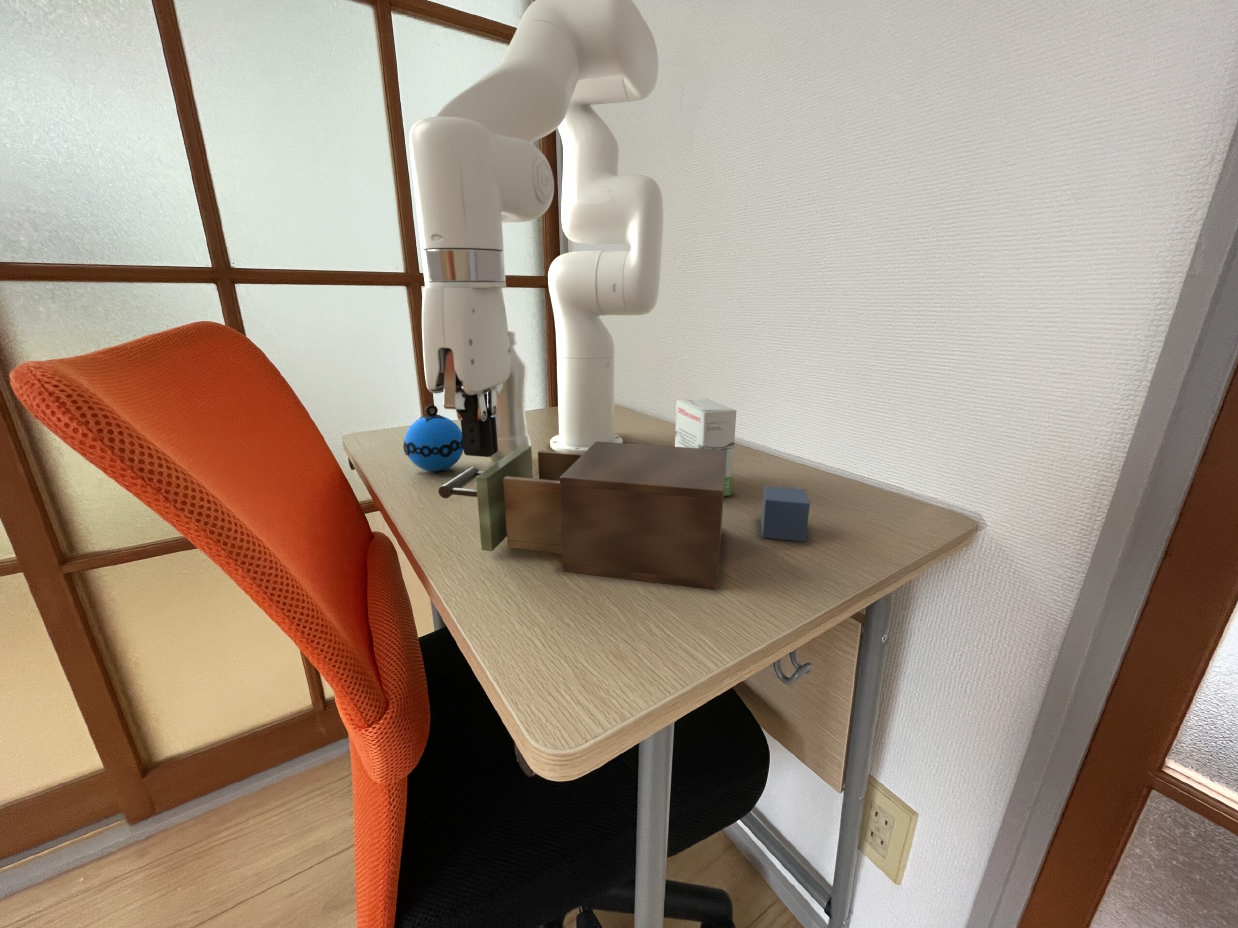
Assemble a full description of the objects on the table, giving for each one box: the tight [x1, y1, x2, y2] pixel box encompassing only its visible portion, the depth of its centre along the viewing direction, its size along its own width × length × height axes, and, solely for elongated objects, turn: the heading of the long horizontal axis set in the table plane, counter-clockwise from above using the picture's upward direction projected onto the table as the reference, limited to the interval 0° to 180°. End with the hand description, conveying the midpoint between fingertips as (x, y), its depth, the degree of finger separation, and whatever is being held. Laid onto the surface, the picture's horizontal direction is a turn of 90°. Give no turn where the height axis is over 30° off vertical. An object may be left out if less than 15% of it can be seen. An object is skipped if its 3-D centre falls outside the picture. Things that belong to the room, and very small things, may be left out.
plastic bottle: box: [489, 330, 532, 464], centre depth 80 cm, size 6×7×20 cm
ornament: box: [402, 404, 464, 473], centre depth 77 cm, size 9×9×10 cm
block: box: [760, 485, 811, 543], centre depth 59 cm, size 4×4×4 cm
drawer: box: [438, 445, 584, 554], centre depth 56 cm, size 19×11×8 cm, turn 77°
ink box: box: [674, 398, 737, 497], centre depth 71 cm, size 9×5×12 cm, turn 19°
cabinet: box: [560, 441, 727, 591], centre depth 54 cm, size 15×13×10 cm
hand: (481, 453), depth 56 cm, fingers closed
